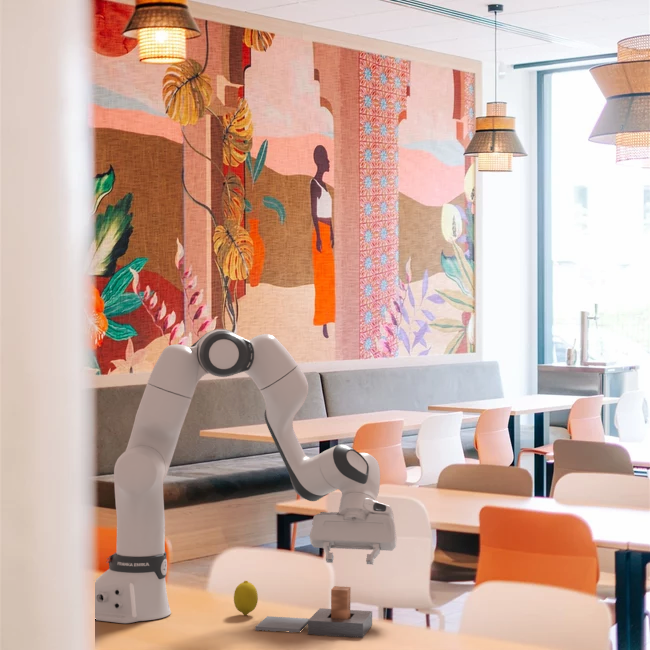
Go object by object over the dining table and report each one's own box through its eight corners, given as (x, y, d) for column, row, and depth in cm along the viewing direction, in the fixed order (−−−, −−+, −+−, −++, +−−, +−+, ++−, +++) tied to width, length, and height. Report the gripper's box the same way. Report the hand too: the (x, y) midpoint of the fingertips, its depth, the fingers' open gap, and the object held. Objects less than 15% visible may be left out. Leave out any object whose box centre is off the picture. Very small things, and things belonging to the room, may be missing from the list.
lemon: (254, 618, 242) (254, 583, 243) (230, 617, 244) (231, 582, 244) (260, 613, 248) (260, 578, 248) (237, 612, 249) (237, 577, 249)
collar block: (307, 634, 228) (307, 620, 228) (319, 621, 240) (319, 608, 240) (362, 637, 226) (362, 623, 226) (372, 624, 238) (372, 611, 238)
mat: (255, 630, 232) (255, 626, 232) (267, 619, 242) (267, 616, 242) (299, 632, 230) (299, 629, 230) (310, 622, 239) (310, 618, 240)
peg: (331, 631, 232) (331, 589, 232) (334, 627, 235) (334, 586, 235) (347, 632, 231) (347, 590, 231) (350, 628, 234) (350, 587, 235)
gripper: (312, 503, 253) (302, 552, 243) (397, 506, 249) (391, 555, 239) (316, 520, 257) (307, 568, 247) (400, 523, 253) (394, 572, 243)
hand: (349, 562), depth 243 cm, fingers open, 8 cm apart
